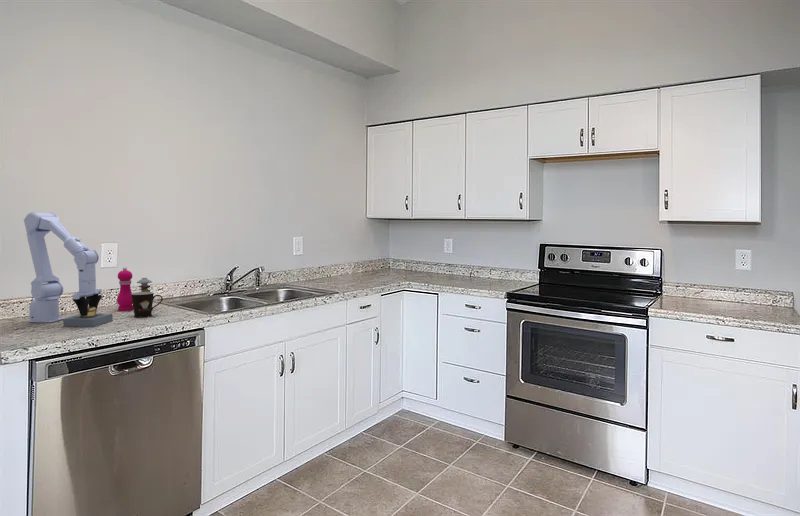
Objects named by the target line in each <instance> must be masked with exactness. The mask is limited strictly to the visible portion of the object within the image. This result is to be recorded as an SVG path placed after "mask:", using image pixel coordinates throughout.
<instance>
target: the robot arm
mask: <svg viewBox="0 0 800 516" xmlns="http://www.w3.org/2000/svg"><path fill="white" fill-rule="evenodd" d="M23 222H24V226H25V231H26V237H27V242H28V247H29V250H30V251H29V253H30V256H31V260H32V264H33V269H34V273H35V278H34V279H33V280H32V281H31V282H30V285H31V286H30V287H31V288H30V289H31V290H30V294H31V296H32V297H33V299H32V300H31V301H30V303H29V307H28V308H29V310H28V311H29V320H28V321H27V322H28V323H55V322H57V321H58V322H59V321H63V319H64V318H65V317H60V301H59V299H61V296H62V295H63V293H64V286H63V285H62V283H61V282H60V278H59V277H58V276H56V275H54V273H53V270H52V266H51V261H50V257H49V253H48V248H47V244H46V239H45V237H46V235H47V234H49V233H50V232H51V233H52V234H54V235H55V236H56V237H57V238H59V239H60V240H61V241H62V242H63V247H64V248H65V249H66V250H67V251H68V252H69V253H70V254H71V255H72V256H73V260H74V263H75V264H76V268H77V271H78V272H77V273H78V291H77V292H75V293H73V294H72V301H73V302H74V304H75V305H76V307H77V309H78V312H79V314H80V315H81V316H87V312H88V307H91V306H95V307H96V312H97V310H98V306H99V303H100V301H101V300H102V298H103V295H102V294H103V290H102V288H100V289H99V288H97V282H96V280H97V279H96V277H97V276H96V275H97V274H96V264H97V263H98V262H99V254H98V253H97V251H96V250H94V249H91V248H89V247H88V246H86V245H85V243H83V242H82V241H81V238H79V237H77V236H72V234H71V233H69V231H68V229H66V228H65V227H64V225H63V224H62V223H61V218H60V217H59V216H58V215H57V214H56V213H54V212H33V211H32V212H29V213H27V215H25V218H24V219H23Z"/></svg>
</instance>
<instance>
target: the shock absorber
mask: <svg viewBox="0 0 800 516" xmlns="http://www.w3.org/2000/svg"><path fill="white" fill-rule="evenodd" d="M151 283H153V281H152V280H150V279H148V277H142V278H141V279H139V280H138V281H136V284H140V285H139V286H138V288H139V290H140V292H151V289H150V288H151V285H148V284H151Z"/></svg>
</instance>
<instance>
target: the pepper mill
mask: <svg viewBox="0 0 800 516" xmlns="http://www.w3.org/2000/svg"><path fill="white" fill-rule="evenodd" d="M132 278H133V273H132V271H130V270H128V267H126V266H124V267H122V270H121V271H118V273H117V279H118V280H119V281H118V284H119V286H120V290H119V292H118V296H117V298H116V303H117V305H118V306H117V310H118V311H120V312H128V311H129V310H130V311H134V308H133V302H132V296H131V294H132V293H133V292H132V290H131V284H132Z"/></svg>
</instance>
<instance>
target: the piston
mask: <svg viewBox="0 0 800 516" xmlns="http://www.w3.org/2000/svg"><path fill="white" fill-rule="evenodd" d="M96 313H97V311H96V307H95V306H91V307H89V306H88V312H87V316H82V318H88V317H95V316H96Z"/></svg>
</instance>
